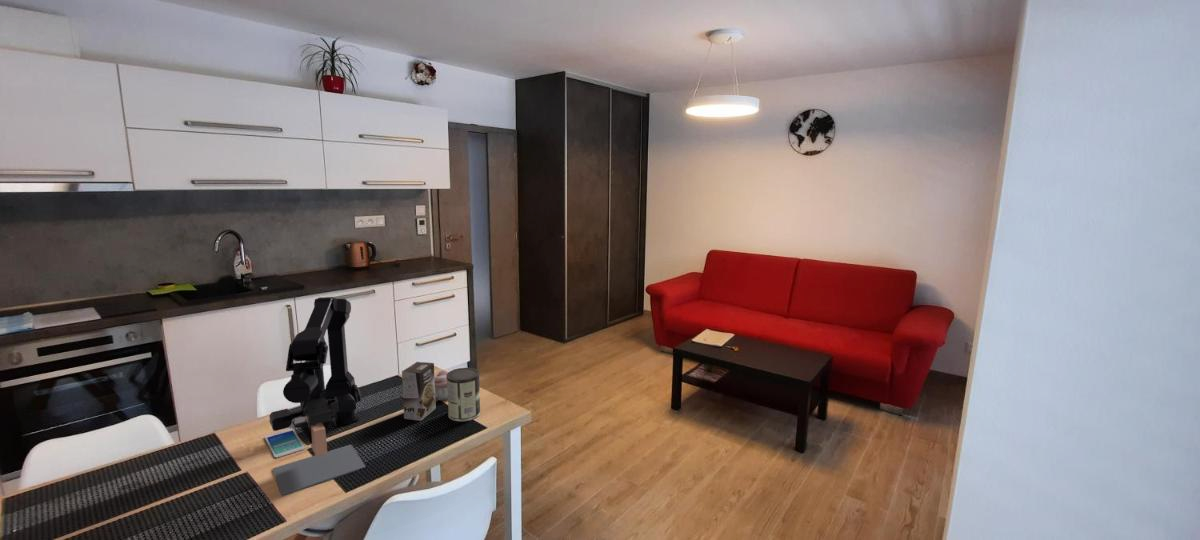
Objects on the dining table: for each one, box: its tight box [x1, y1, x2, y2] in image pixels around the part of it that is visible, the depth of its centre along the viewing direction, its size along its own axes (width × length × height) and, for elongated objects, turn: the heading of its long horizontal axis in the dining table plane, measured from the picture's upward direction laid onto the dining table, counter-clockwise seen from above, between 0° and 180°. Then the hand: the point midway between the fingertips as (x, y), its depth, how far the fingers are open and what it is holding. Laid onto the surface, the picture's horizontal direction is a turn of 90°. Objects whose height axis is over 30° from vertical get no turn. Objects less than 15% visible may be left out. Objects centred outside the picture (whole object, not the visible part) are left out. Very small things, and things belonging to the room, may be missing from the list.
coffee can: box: [446, 367, 481, 423], centre depth 160 cm, size 10×10×14 cm
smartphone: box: [264, 427, 306, 459], centre depth 142 cm, size 7×1×15 cm
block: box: [306, 417, 328, 457], centre depth 128 cm, size 10×2×7 cm, turn 40°
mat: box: [272, 444, 367, 497], centre depth 130 cm, size 14×19×1 cm
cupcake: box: [434, 369, 449, 401], centre depth 173 cm, size 9×9×10 cm
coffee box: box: [401, 361, 437, 422], centre depth 159 cm, size 9×6×16 cm
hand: (317, 441), depth 129 cm, fingers closed on block, 2 cm apart
